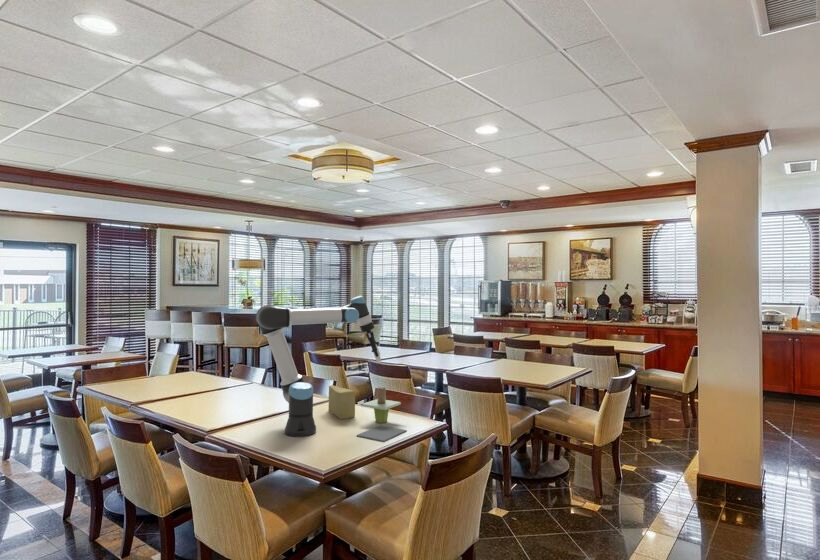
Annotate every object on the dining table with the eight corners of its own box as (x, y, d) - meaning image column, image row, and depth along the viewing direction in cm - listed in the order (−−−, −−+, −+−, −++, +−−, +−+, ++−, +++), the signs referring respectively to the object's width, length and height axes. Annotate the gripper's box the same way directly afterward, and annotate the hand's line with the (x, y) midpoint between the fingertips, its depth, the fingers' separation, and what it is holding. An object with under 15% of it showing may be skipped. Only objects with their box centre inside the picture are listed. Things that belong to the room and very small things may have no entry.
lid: (385, 410, 244) (385, 392, 244) (361, 406, 252) (362, 388, 252) (400, 404, 257) (400, 387, 257) (378, 400, 265) (378, 384, 265)
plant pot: (372, 419, 258) (372, 403, 259) (389, 419, 259) (390, 403, 259) (372, 424, 249) (372, 407, 249) (390, 423, 250) (390, 407, 250)
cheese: (321, 411, 274) (322, 385, 275) (336, 409, 280) (337, 383, 281) (339, 420, 257) (340, 392, 257) (355, 417, 262) (355, 390, 263)
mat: (383, 441, 219) (383, 440, 219) (356, 436, 228) (356, 435, 228) (406, 431, 236) (406, 430, 236) (380, 426, 245) (380, 425, 245)
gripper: (373, 325, 250) (386, 361, 252) (371, 317, 274) (383, 350, 277) (359, 330, 249) (373, 366, 252) (359, 321, 274) (371, 355, 276)
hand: (378, 358), depth 264 cm, fingers open, 13 cm apart
